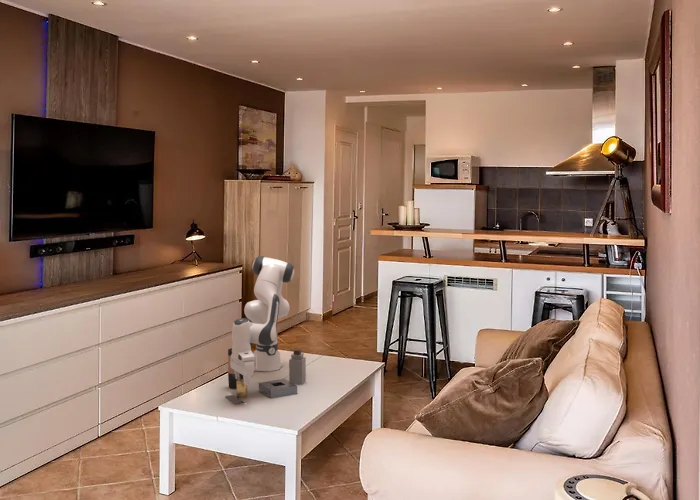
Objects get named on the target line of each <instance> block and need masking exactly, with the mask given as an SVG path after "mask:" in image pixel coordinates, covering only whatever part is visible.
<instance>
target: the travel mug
mask: <svg viewBox="0 0 700 500" xmlns="http://www.w3.org/2000/svg"><path fill="white" fill-rule="evenodd" d="M231 354H232V347H231V348H228V349H227V375H228V378H227V379H228V381H227V382H228V389H230V390H237V379H236V376H235V372H234V370H233V369H232V368H231V366H230V360H231ZM239 375H240V379H244V376H243V375H242V374H240V373H239Z"/></svg>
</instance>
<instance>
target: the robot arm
mask: <svg viewBox="0 0 700 500" xmlns="http://www.w3.org/2000/svg"><path fill="white" fill-rule="evenodd" d="M251 268H252V272H253V274H254V275H256V276H257V278H256V280H255V284H254V288H253V293H254V296H255V297H256V299H254V300H251V301H248V302H246V304H245V306H244V309H243V311H244V316H245V317H243V318H242V317H241V318H237V319H235V320H234V321H233V323H232V329H231V340H232V341H231V342H232V346H231V348H232V354H231V360H230V366H231V368H232V369H233V370H234V372H235V376H236V379H237V380H240V375H239V373H240V374H242V375H243V379H244V381H243V384H245V385H247V386H248V385H249V379H250V378H251V377H254V374H255V372H256V371H257V372H258V371H259V372H273V371H278V370H280V369H281V368H282V367H284V365H283V363H282V362H281V361H282V360H281V359H282V358H281V352H280V351H279V343H278V329H277V326H278V320H279V319H280V318H283V317H287V315H288V314H289V312H290V309H291V308H290V304H289V301H288V300H287V299H285V298H284V297H283V295H282V292H283V291H282V289H283V285H284V283H289V282H291V281H292V280H293V278H294V277H295V272H296V271H295V266H294V265H293V264H292V263H290V262H286V261H284V260H280V259H277V258H272V257H266V256H262V255H260V256H259V255H258V256H257V257H256V258H255V259H254V260H253V262H252V267H251ZM251 344H255V350H254V351H252V345H251Z"/></svg>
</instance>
